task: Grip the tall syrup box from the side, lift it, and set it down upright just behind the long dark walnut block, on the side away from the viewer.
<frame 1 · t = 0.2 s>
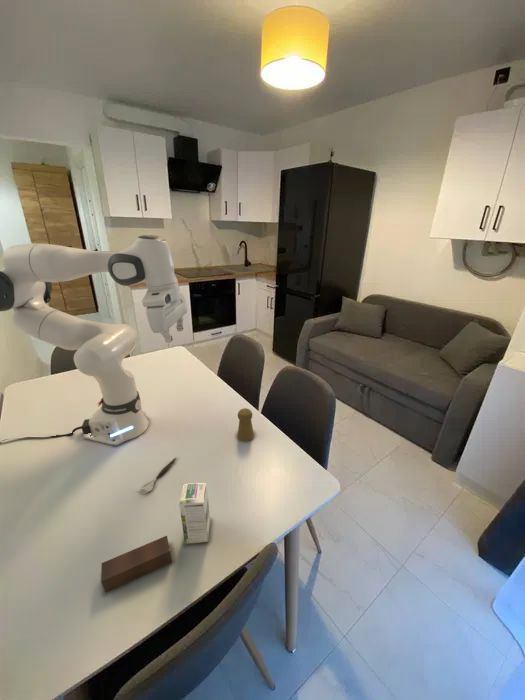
hand: (175, 336, 92), 39 cm above the table, tool pointing down, fingers open, 8 cm apart
syrup box: (198, 532, 74), on the table
fork: (159, 477, 90), on the table
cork: (245, 435, 107), on the table
walnut block: (139, 567, 66), on the table
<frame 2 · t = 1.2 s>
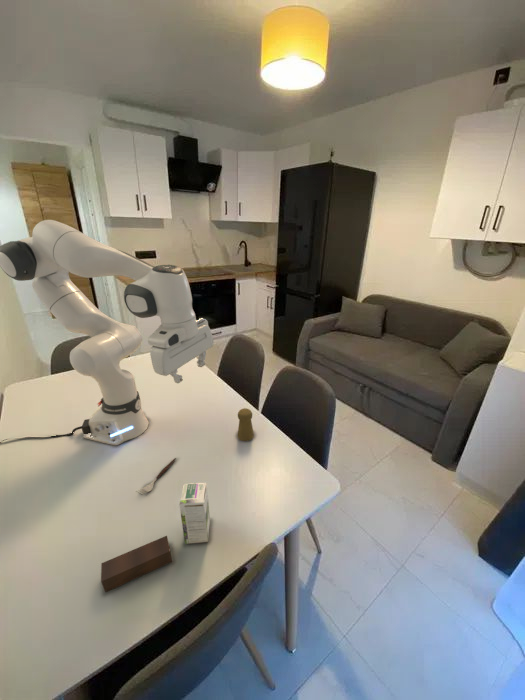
hand: (190, 373, 82), 33 cm above the table, tool pointing down, fingers open, 8 cm apart
nothing on the table moved.
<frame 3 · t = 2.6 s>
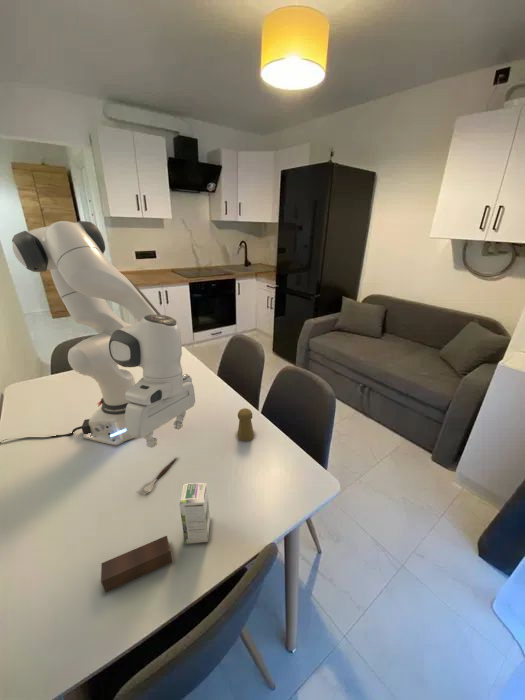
hand: (166, 436, 72), 23 cm above the table, tool pointing down, fingers open, 8 cm apart
nothing on the table moved.
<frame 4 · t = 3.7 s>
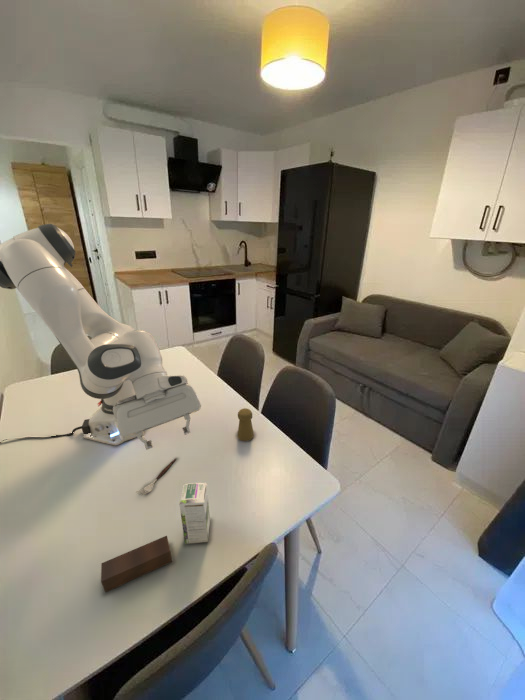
hand: (169, 441, 72), 23 cm above the table, tool tilted 45°, fingers open, 8 cm apart
nothing on the table moved.
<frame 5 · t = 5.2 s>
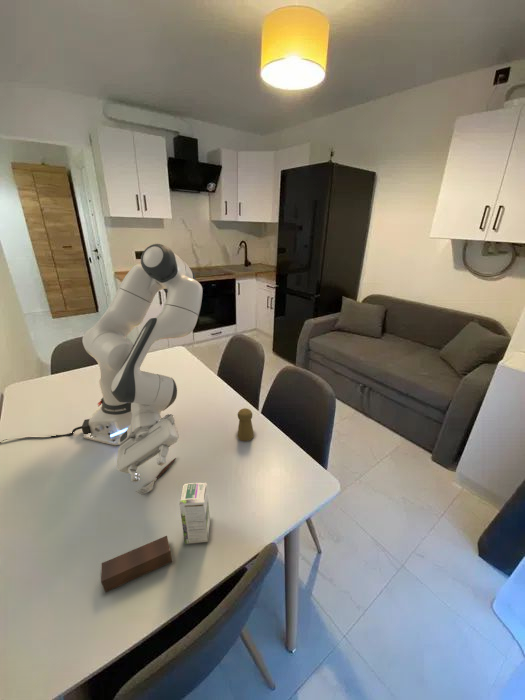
hand: (148, 472, 78), 10 cm above the table, tool tilted 70°, fingers open, 8 cm apart
nothing on the table moved.
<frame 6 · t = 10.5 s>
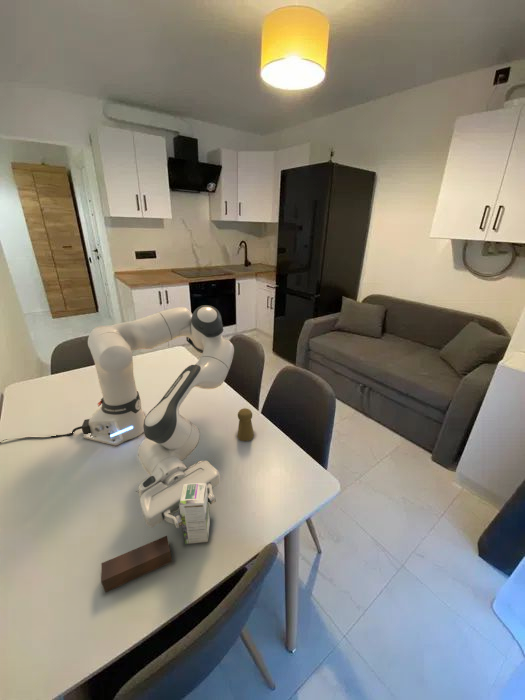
hand: (197, 512, 69), 9 cm above the table, tool horizontal, fingers closed on syrup box, 8 cm apart
syrup box: (198, 532, 74), on the table, touching gripper
everything else where it was.
when the fingers open (9 cm above the table, at t = 18.9 s): syrup box stays where it is, on the table.
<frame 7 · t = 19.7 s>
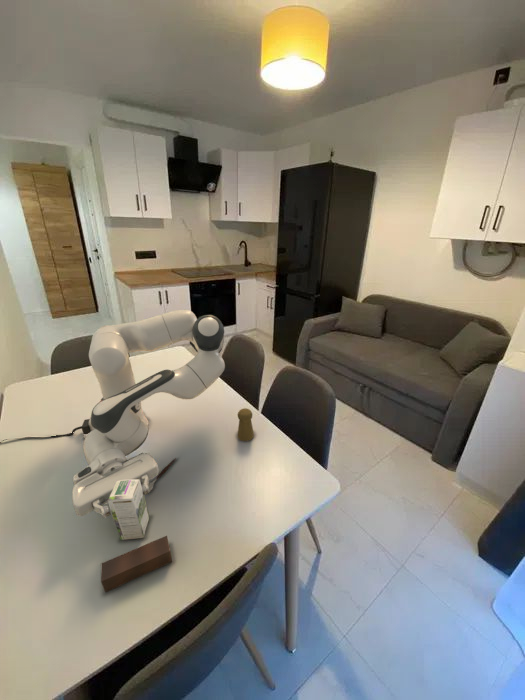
hand: (127, 502, 71), 10 cm above the table, tool horizontal, fingers open, 8 cm apart
syrup box: (136, 528, 75), on the table
everything else where it was.
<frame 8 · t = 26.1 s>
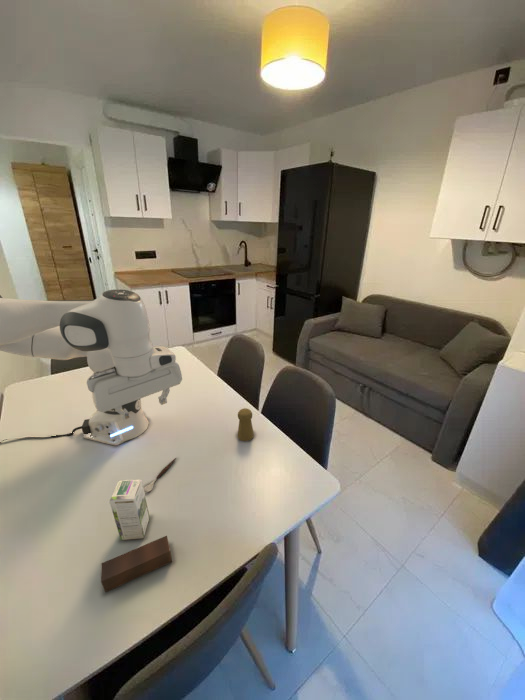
hand: (145, 410, 72), 29 cm above the table, tool pointing down, fingers open, 8 cm apart
nothing on the table moved.
at the end: syrup box inside the target area on the table beside the walnut block (0.5 cm from its centre), on the table; syrup box tilted 0°; the gripper is holding nothing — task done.
